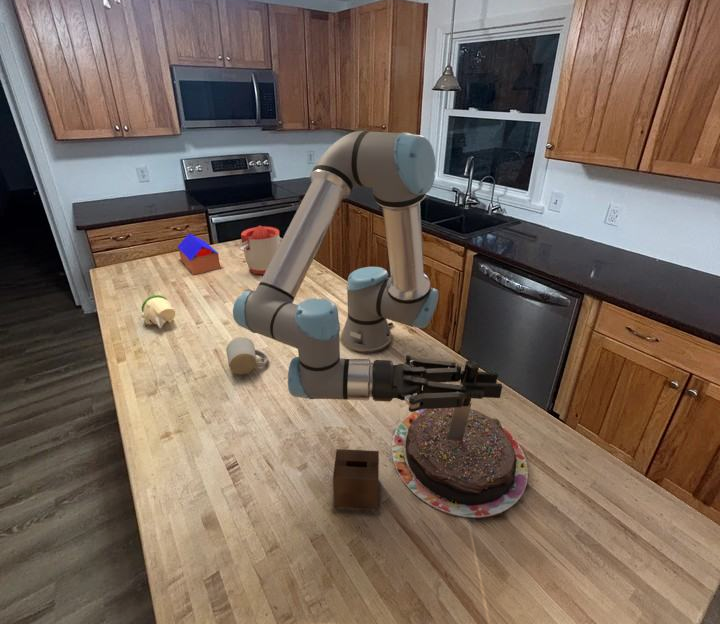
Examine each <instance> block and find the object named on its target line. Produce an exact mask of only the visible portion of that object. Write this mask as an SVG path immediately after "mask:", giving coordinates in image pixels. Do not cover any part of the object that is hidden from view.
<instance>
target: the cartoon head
mask: <svg viewBox="0 0 720 624" xmlns="http://www.w3.org/2000/svg"><path fill="white" fill-rule="evenodd" d="M140 316H141V318H142V319H143V320H144V321H145V324H146V325H154V326H157V327H158V328H159V330H160V329H162V327H163V326H164V324H166V323H167V322H168V323H171V322H172V321H173V320H174V319H175V317H176V311H175V309H174V308H173V305H172V303H170V301H169V300H168V299H167V298H166V297H165V296H163V295H160V294H155V295H151V296H148V297H147V298H146V299H145V300H144V301H143V303H142V305H141V315H140Z"/></svg>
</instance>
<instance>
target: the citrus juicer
mask: <svg viewBox="0 0 720 624" xmlns="http://www.w3.org/2000/svg"><path fill="white" fill-rule="evenodd" d="M240 233H241V234H240V236H241V237H240V239H241V243H240V244H239V247H238V248H239V250H240V251H243V254H244V255H243V256H244V259H245V262H246V264H247V267H248V269H249V271H250V272H251V273H253V274H255V275H260V276H262V275H263V276H264V274H265V272H266V270H267V268H268V266H269V264H270V262H271V260H272V258H273V256H274V254H275V252H276V251H277V249H278V247H279V245H280V243H281V240H280V239H281V238H280V230H279V229H278V228H276V227H272V226H262V225H258V226H256V227H250V228H247V229H245V230H243V231H241V232H240Z"/></svg>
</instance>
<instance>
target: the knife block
mask: <svg viewBox="0 0 720 624" xmlns="http://www.w3.org/2000/svg"><path fill="white" fill-rule="evenodd" d="M335 451H336V452H335V458H334V465H333V473H332V489H333V508H338V509H339V508H340V509H341V508H342V509H357V510H358V509H359V510H375V511H376V510H377V511H378V502H379V471H380V470H379V469H380V468H379V465H380V462H379V461H380V452H379V450H366V449H365V450H363V449H341V448H336V450H335Z"/></svg>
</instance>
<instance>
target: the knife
mask: <svg viewBox="0 0 720 624" xmlns="http://www.w3.org/2000/svg"><path fill="white" fill-rule="evenodd" d="M479 369H480V363H479V362H477V361H476V360H473V359H469V360H466V361H465V365H464V369H463V370H464V373H463V378H462V382H461V383H460V385H463V386H465V382H470V383H472V382H473V383H475V382H476V378H477V374H478V372H479ZM472 404H473V403H472V398H466V399H464V403H463V406H462V407H457V408H454V411H453V415H452V420H451V424H450V429H449V433H448V437H447V439H448V440H456V441H463V437H464V433H465V428H466V424H467V420H468V416H469V412H470V408H471V407H472Z"/></svg>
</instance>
